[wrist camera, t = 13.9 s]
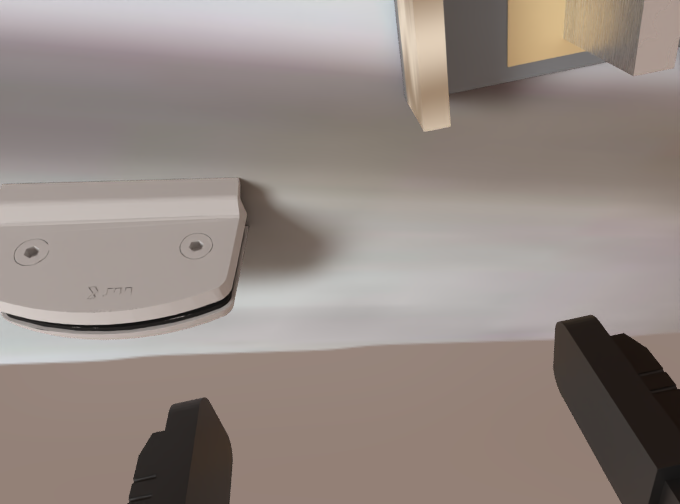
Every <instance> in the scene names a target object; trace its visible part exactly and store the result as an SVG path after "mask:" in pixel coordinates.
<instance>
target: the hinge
mask: <svg viewBox="0 0 680 504" xmlns="http://www.w3.org/2000/svg"><path fill="white" fill-rule="evenodd" d="M240 187H241V183H240V180H239V178H208V179H172V180H136V181H100V182H64V183H28V184H2V186H1V189H0V311H1V315H2V316H3V318H4V319H6V320H7V321H9V322H11V323H13V324H15V325H17V326H20V327H23V328H27V329H30V330H33V331H37V332H41V333H46V334H50V335H56V336H62V337H68V338H79V339H98V340H111V339H129V338H140V337H147V336H155V335H160V334H165V333H171V332H175V331H179V330H183V329H187V328H191V327H194V326H197V325H201V324H204V323H207V322H210V321H212V320H215V319H218V318H220V317H223V316H225V315H227V314H228V313H229V312H230V311H231V310H232V308H233V306H234V300H235V295H236V290H237V285H238V280H239V275H240V270H241V265H242V260H243V255H244V250H245V245H246V240H247V234H248V229H249V226H245V223H246V218H247V213H246V211H245V208H244V206H243V204H242V202H241V199H240Z"/></svg>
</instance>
